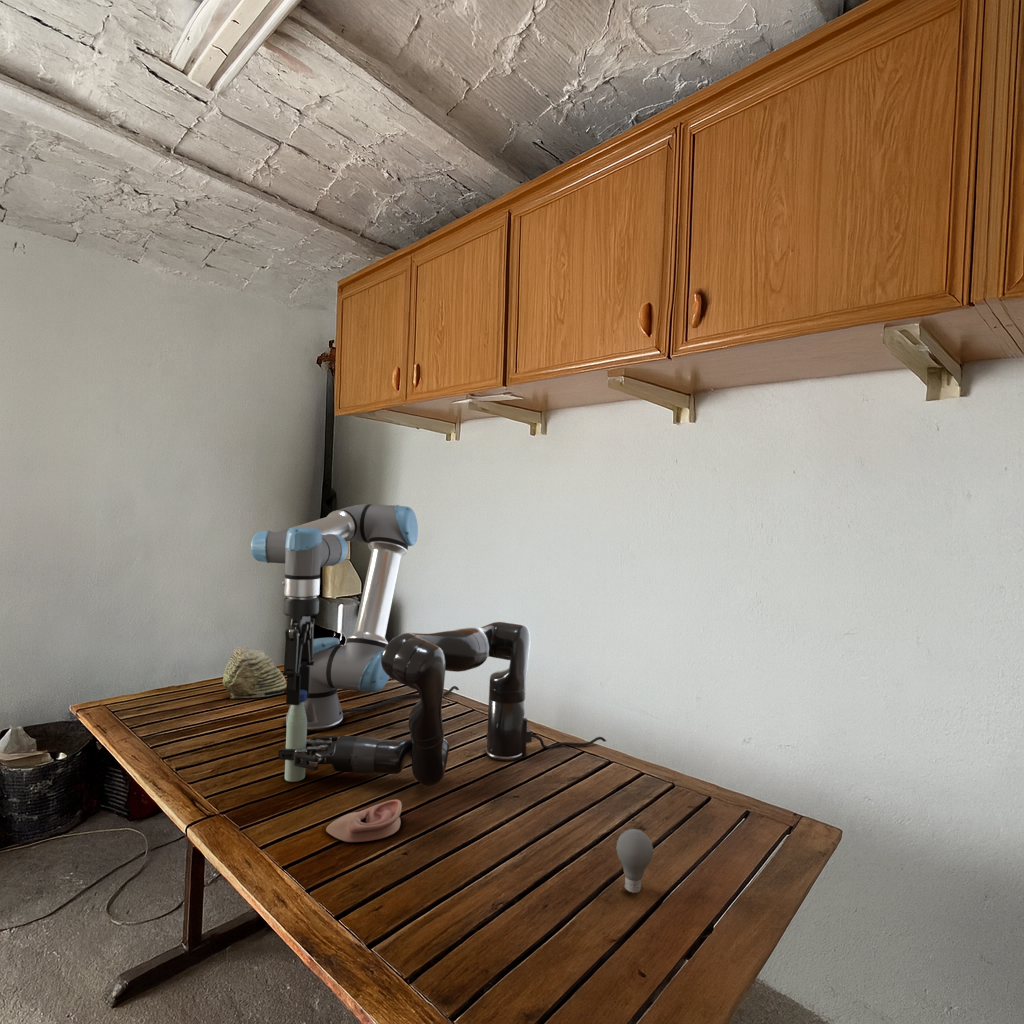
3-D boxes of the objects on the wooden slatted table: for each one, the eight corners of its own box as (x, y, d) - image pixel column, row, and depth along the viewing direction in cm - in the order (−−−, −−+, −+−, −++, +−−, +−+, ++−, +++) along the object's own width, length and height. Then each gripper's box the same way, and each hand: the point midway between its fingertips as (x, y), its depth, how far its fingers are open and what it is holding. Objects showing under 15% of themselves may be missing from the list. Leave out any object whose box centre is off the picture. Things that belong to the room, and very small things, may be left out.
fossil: (218, 695, 195) (220, 647, 195) (278, 685, 208) (279, 640, 207) (228, 703, 189) (230, 653, 188) (289, 692, 201) (290, 645, 201)
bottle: (284, 782, 140) (287, 699, 139) (284, 774, 144) (287, 693, 143) (305, 780, 141) (308, 698, 141) (304, 772, 145) (307, 692, 145)
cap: (294, 704, 139) (294, 695, 139) (285, 700, 142) (285, 691, 142) (310, 700, 142) (310, 692, 142) (300, 696, 145) (301, 688, 145)
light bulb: (610, 879, 108) (613, 822, 108) (644, 879, 109) (647, 822, 109) (619, 902, 102) (622, 840, 102) (655, 901, 103) (658, 840, 103)
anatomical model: (318, 816, 117) (346, 789, 129) (317, 837, 118) (346, 808, 129) (385, 827, 115) (408, 798, 126) (384, 848, 115) (407, 818, 126)
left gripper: (298, 590, 151) (294, 686, 151) (269, 603, 132) (265, 713, 132) (329, 591, 151) (326, 687, 152) (305, 604, 132) (301, 714, 132)
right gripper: (368, 726, 148) (297, 721, 149) (348, 750, 134) (270, 744, 135) (367, 758, 148) (295, 753, 150) (347, 785, 134) (268, 779, 135)
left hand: (297, 699), depth 142 cm, fingers open, 6 cm apart
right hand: (284, 749), depth 142 cm, fingers closed on bottle, 4 cm apart
